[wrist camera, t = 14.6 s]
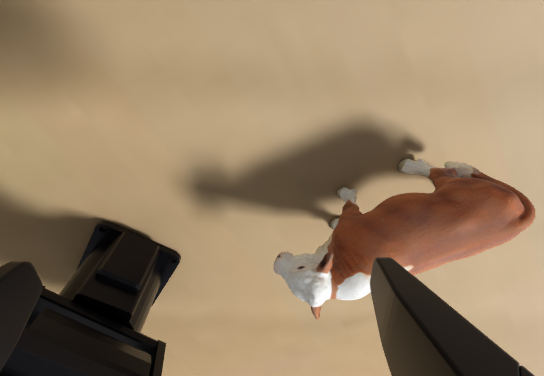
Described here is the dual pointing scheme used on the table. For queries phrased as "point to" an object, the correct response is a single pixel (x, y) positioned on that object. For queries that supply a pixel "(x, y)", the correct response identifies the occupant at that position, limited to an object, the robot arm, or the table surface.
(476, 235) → the bull figurine
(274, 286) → the table surface
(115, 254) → the robot arm
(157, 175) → the table surface
